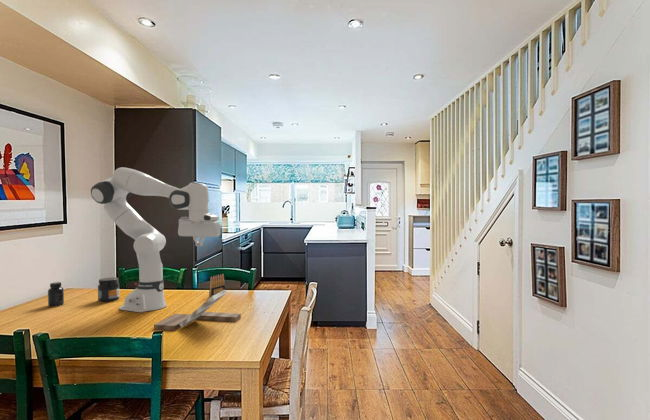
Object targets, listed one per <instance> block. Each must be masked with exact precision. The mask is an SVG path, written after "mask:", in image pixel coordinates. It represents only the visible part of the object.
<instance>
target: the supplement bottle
mask: <svg viewBox="0 0 650 420" xmlns="http://www.w3.org/2000/svg"><path fill="white" fill-rule="evenodd" d="M64 291H65V290H64V287H62V282H61V281H60V282H59V281H57V282H50V284H49V289H48V290H47V306H48V307H49V306H57V307H61V306H64V305H65V304H64V303H65V302H64V301H65V299H64V298H65V296H64V295H65V292H64ZM60 305H61V306H60Z"/></svg>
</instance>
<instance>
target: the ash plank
mask: <svg viewBox="0 0 650 420" xmlns="http://www.w3.org/2000/svg"><path fill="white" fill-rule="evenodd" d="M227 293H228V292H227V291H226V289H225V290H223V291H221V292H219V293H217V294H215V295H213V296H212V297H209V298H208V299H207V300H206V301H205V302H203V303H202V304H201V305H200V306H199V307H198V308H197V309H195V310H194V311H193V312H192V313H191V315H190V316H188V317H187V318H186V319H185V320H184V321H183V322H181V323H180V324H179V325H180V326H181V327H180V328H183V327H185V326H187V325H189V324H191V323H192V322H194V321H196V320H198V319H197V318H198V317H199V316H200V315H202V314H203V313H204V312H207V310H209V309H210V308H211V307H212V306H213V305H214V304H216V303H217V302H218V301H220V300H221V299H222V297H224V296H225V295H227Z"/></svg>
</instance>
